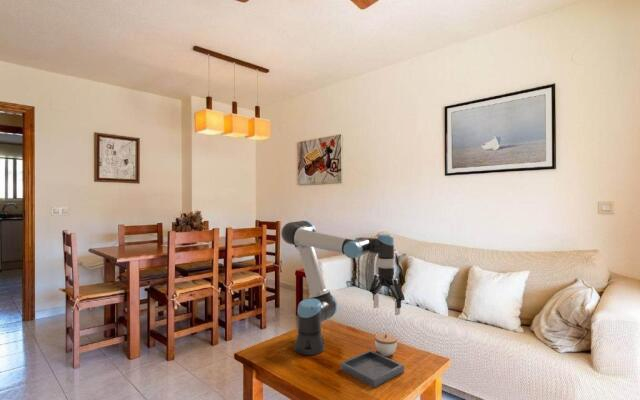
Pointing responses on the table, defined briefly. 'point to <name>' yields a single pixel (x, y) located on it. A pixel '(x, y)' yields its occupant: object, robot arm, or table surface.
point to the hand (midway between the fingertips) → (386, 311)
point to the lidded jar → (385, 343)
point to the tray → (372, 368)
